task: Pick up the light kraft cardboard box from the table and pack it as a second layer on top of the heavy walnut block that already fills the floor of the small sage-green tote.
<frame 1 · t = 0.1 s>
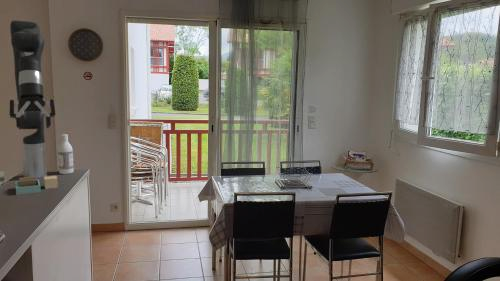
hand: (34, 128, 137), 31 cm above the table, tool tilted 20°, fingers open, 8 cm apart
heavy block: (28, 189, 167), point 1 cm above the table, touching tote
tote: (28, 191, 167), on the table
bath foam: (66, 173, 200), on the table
light box: (51, 188, 172), on the table
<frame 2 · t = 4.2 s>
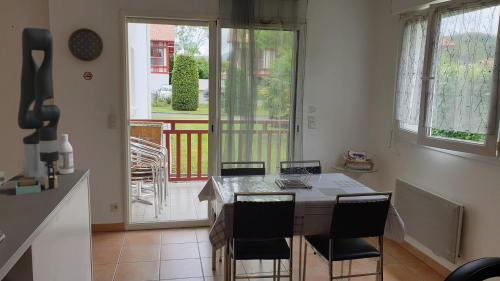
hand: (51, 187, 172), 0 cm above the table, tool pointing down, fingers closed on light box, 5 cm apart
light box: (51, 188, 172), on the table, touching gripper
everything else where it was.
when the fingers open (7 cm above the table, at t = 8.9 s): light box drops 1 cm, resting on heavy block.
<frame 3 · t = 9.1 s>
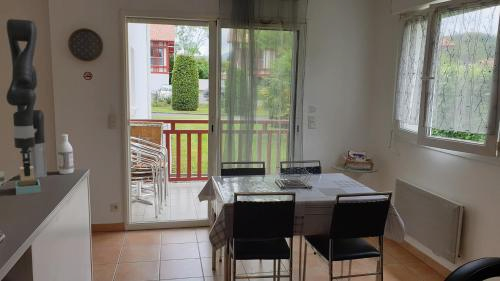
hand: (27, 174, 166), 8 cm above the table, tool pointing down, fingers open, 6 cm apart
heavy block: (28, 189, 167), point 1 cm above the table, touching light box, tote
light box: (27, 178, 166), point 6 cm above the table, touching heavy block
everything else where it was.
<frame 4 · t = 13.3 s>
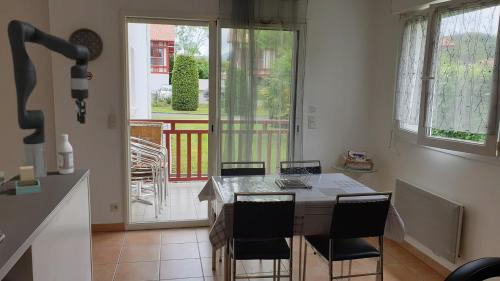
hand: (81, 122, 183), 28 cm above the table, tool pointing down, fingers open, 8 cm apart
nothing on the table moved.
at the end: light box 0.0 cm off-centre on the tote, point 5.6 cm above the tote's base; light box tilted 0°; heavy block 0.0 cm off-centre on the tote, point 0.6 cm above the tote's base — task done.
